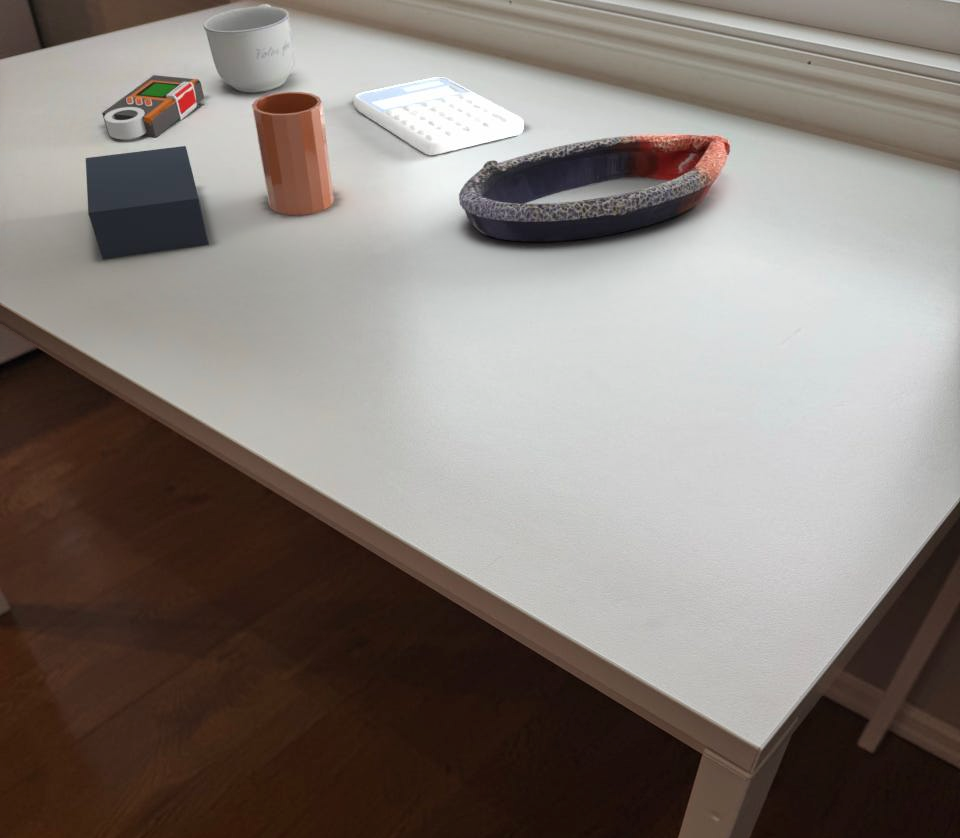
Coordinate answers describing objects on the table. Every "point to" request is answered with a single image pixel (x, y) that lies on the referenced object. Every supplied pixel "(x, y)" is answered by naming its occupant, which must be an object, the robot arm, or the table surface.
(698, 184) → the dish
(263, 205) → the table surface
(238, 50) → the teacup
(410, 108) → the calculator
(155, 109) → the electronic device
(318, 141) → the terracotta cup
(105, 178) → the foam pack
